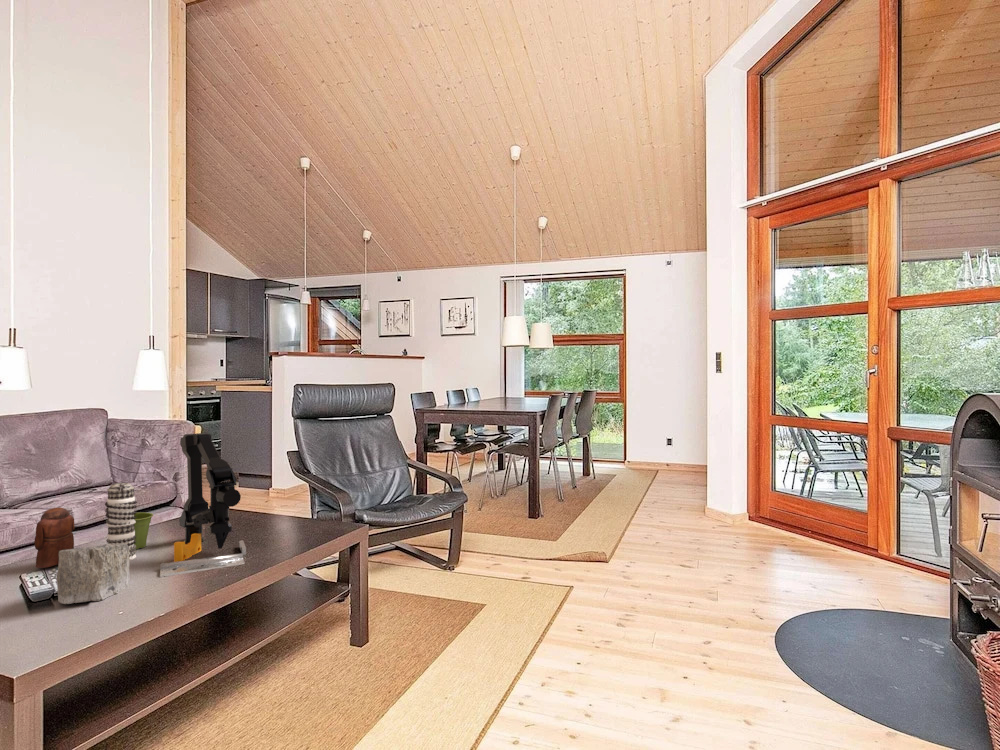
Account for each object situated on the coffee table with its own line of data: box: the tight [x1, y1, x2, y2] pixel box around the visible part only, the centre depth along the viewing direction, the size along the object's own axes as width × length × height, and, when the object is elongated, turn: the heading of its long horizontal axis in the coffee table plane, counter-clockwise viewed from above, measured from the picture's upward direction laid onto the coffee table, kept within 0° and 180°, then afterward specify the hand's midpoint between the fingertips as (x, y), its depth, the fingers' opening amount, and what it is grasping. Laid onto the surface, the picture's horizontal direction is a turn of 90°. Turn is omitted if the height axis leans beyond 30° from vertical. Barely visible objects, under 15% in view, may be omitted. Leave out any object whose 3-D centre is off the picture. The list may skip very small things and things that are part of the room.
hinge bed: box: [159, 539, 247, 578], centre depth 202 cm, size 20×25×3 cm
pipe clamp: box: [173, 534, 202, 562], centre depth 208 cm, size 12×4×6 cm, turn 177°
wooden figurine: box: [34, 507, 76, 569], centre depth 201 cm, size 12×6×18 cm, turn 176°
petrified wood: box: [56, 543, 131, 605], centre depth 174 cm, size 19×17×15 cm
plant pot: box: [134, 512, 154, 551], centre depth 219 cm, size 12×12×11 cm
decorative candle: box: [104, 482, 138, 561], centre depth 206 cm, size 9×9×25 cm
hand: (219, 547), depth 209 cm, fingers closed
